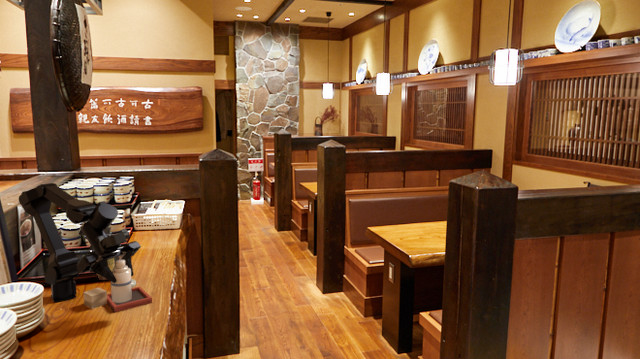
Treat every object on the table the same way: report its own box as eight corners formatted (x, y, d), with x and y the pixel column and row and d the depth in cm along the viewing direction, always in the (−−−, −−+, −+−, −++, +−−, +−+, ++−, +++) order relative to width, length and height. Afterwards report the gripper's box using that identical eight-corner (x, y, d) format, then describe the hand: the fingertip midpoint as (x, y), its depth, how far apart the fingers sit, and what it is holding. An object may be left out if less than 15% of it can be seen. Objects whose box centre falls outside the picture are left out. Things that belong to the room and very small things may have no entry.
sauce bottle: (107, 281, 159) (105, 229, 156) (92, 279, 160) (90, 228, 157) (119, 275, 165) (116, 225, 162) (104, 273, 166) (102, 224, 163)
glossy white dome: (120, 290, 152) (120, 286, 152) (116, 285, 157) (116, 281, 156) (138, 287, 156) (138, 283, 155) (133, 281, 160) (133, 277, 160)
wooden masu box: (92, 309, 137) (91, 296, 136) (84, 305, 140) (83, 292, 139) (107, 304, 141) (106, 291, 140) (99, 300, 144) (98, 287, 143)
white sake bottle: (114, 304, 127) (113, 265, 125) (109, 297, 131) (107, 260, 129) (134, 299, 131) (133, 261, 129) (128, 293, 135) (127, 256, 133)
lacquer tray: (114, 312, 135) (114, 307, 135) (104, 299, 144) (104, 294, 143) (151, 302, 143) (151, 297, 142) (140, 291, 151) (139, 286, 151)
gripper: (80, 229, 121) (108, 274, 118) (135, 216, 137) (161, 255, 134) (64, 251, 125) (91, 295, 122) (120, 236, 142) (144, 274, 139)
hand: (124, 278), depth 129 cm, fingers closed on white sake bottle, 6 cm apart
